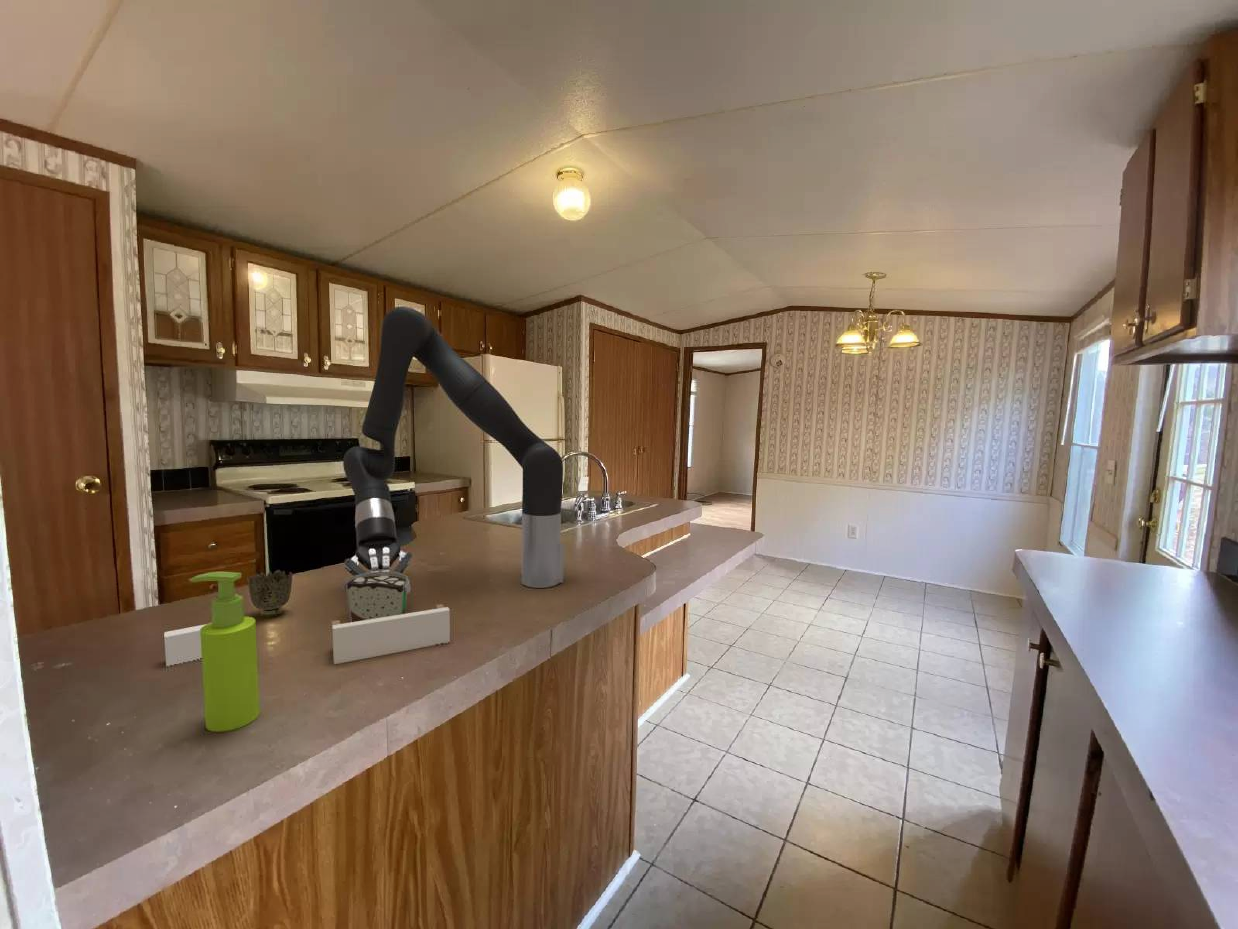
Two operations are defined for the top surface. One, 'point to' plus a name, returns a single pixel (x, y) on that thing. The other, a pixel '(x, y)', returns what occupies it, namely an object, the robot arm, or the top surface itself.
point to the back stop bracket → (390, 634)
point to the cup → (270, 592)
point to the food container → (376, 595)
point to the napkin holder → (182, 645)
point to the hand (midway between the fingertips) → (382, 600)
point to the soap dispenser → (228, 658)
